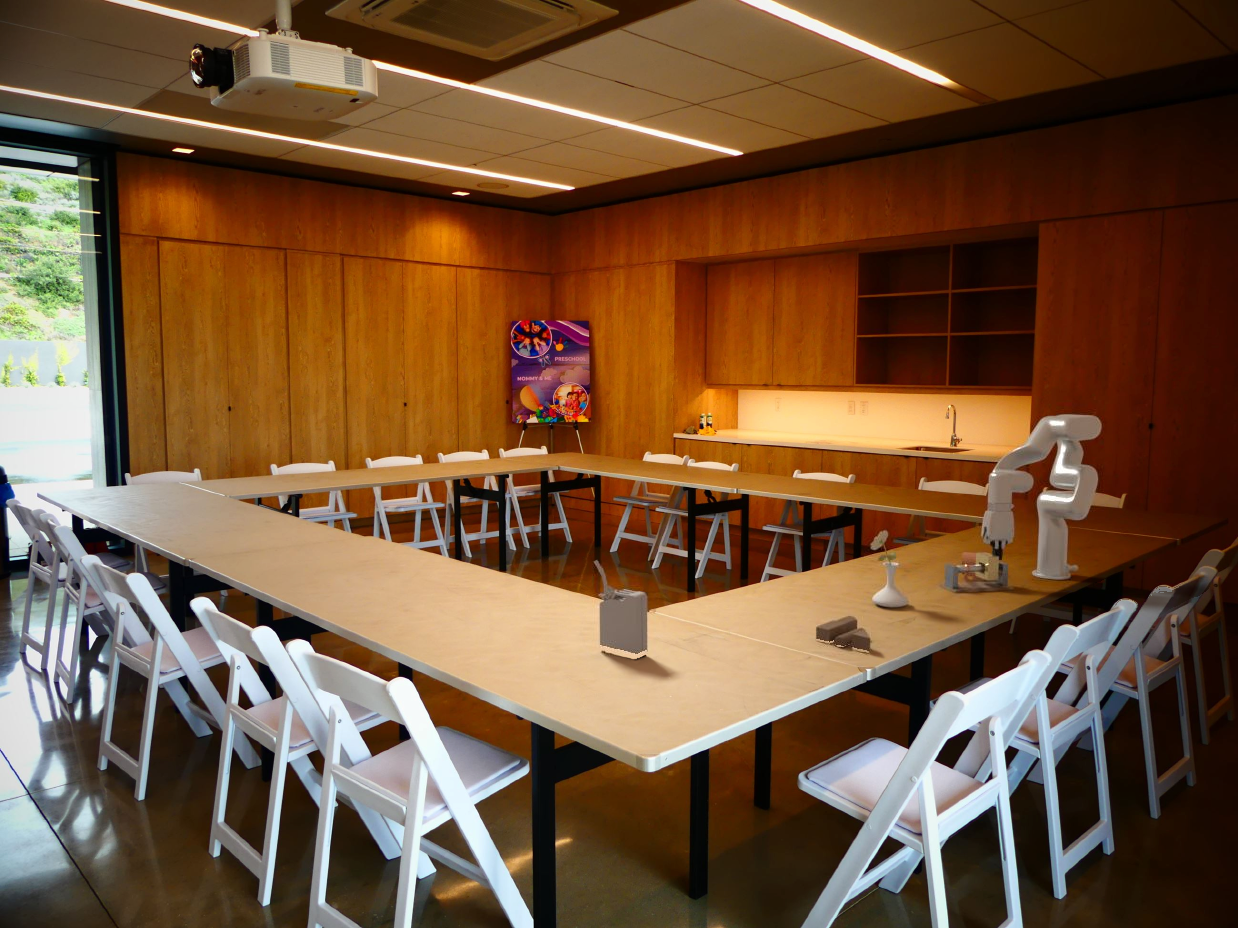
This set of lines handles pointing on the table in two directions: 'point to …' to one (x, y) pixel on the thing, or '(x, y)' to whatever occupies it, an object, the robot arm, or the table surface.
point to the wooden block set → (844, 633)
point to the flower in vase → (888, 578)
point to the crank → (970, 560)
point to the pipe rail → (953, 571)
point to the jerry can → (623, 618)
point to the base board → (977, 587)
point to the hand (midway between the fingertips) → (997, 559)
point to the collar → (988, 566)
